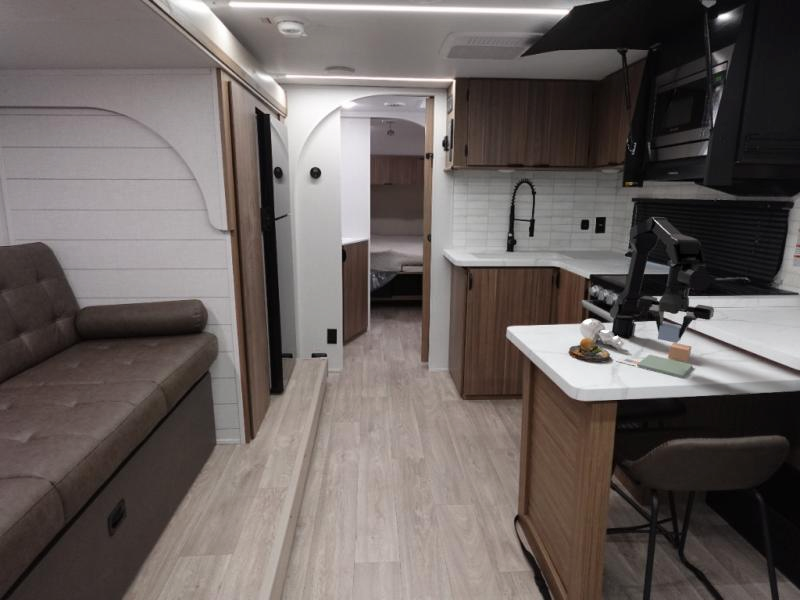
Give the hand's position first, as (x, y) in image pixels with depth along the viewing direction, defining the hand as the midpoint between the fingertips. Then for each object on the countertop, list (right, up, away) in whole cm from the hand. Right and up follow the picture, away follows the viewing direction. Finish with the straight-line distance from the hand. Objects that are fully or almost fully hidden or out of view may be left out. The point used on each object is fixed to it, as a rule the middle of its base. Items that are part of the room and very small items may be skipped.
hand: (669, 335), depth 144 cm
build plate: (0, -9, +2) cm, 10 cm away
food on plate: (-20, -7, +10) cm, 23 cm away
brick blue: (0, -1, 0) cm, 1 cm away
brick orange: (+8, -8, +10) cm, 15 cm away
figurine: (-12, -4, +22) cm, 26 cm away
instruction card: (-8, -8, +5) cm, 13 cm away
